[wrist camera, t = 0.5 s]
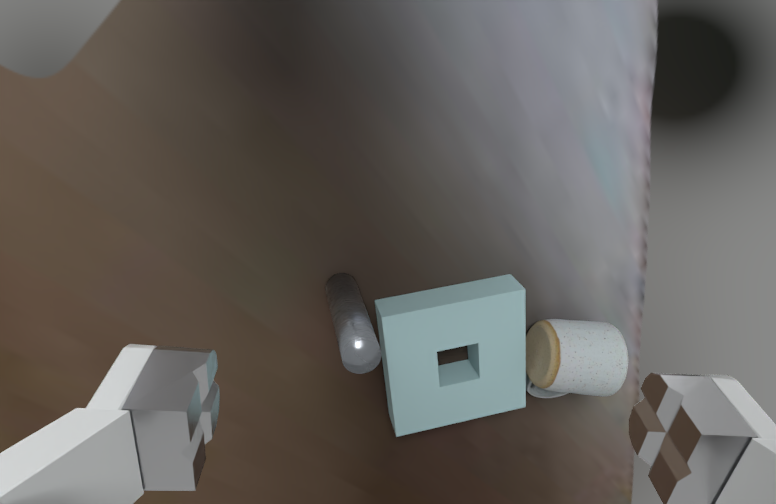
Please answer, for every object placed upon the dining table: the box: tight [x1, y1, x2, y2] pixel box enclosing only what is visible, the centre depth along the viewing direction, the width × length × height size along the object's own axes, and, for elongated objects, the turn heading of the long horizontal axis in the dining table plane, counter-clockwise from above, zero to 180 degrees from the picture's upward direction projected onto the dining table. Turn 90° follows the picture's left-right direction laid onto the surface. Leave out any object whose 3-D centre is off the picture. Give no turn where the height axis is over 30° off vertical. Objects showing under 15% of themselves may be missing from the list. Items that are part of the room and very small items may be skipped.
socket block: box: [375, 274, 526, 437], centre depth 56 cm, size 14×14×4 cm
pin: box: [325, 273, 382, 374], centre depth 47 cm, size 3×3×12 cm
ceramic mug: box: [526, 319, 628, 398], centre depth 57 cm, size 11×8×8 cm
